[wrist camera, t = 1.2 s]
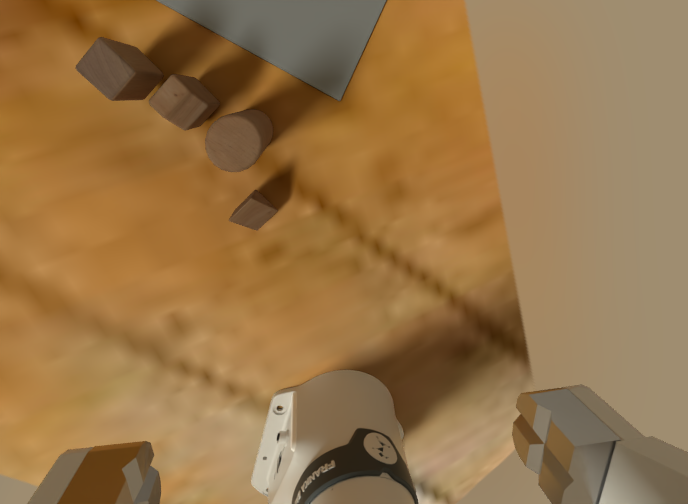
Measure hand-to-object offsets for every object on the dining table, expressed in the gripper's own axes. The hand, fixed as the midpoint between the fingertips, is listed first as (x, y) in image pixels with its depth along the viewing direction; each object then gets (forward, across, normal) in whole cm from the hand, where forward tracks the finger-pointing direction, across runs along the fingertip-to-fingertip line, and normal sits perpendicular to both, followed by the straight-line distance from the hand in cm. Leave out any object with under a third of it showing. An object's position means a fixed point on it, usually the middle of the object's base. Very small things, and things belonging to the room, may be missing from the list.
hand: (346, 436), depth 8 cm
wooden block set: (+33, +7, -6) cm, 34 cm away
